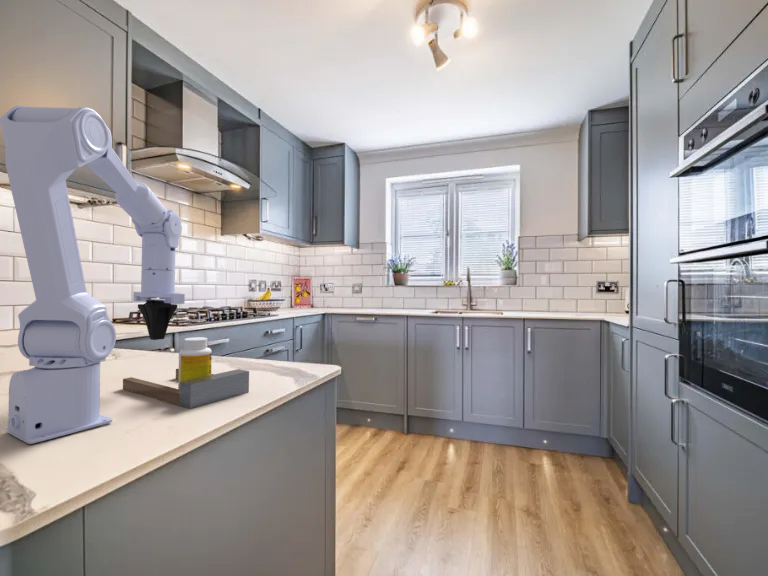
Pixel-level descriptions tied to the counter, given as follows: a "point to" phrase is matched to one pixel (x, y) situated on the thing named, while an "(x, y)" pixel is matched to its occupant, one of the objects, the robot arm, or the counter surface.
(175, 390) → the guide rails
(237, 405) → the counter surface
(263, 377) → the counter surface
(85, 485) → the counter surface
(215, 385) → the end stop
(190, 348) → the supplement bottle
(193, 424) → the counter surface
